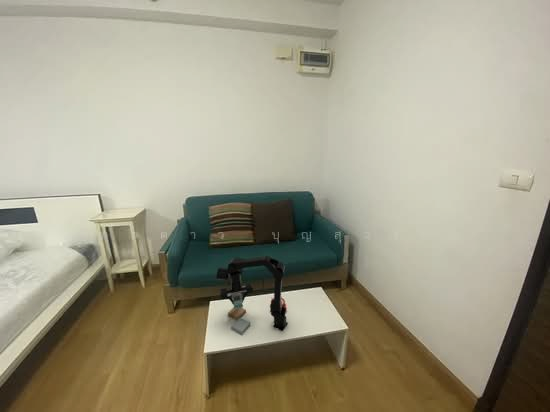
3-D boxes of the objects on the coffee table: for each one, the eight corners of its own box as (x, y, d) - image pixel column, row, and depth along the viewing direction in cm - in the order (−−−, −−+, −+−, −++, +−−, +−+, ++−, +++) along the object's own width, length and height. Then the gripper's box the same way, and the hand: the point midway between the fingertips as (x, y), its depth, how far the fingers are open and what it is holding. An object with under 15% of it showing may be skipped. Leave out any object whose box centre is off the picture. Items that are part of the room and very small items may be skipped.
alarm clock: (283, 294, 155) (288, 305, 140) (284, 303, 155) (288, 315, 140) (268, 296, 153) (271, 307, 138) (269, 305, 153) (272, 317, 139)
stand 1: (246, 312, 144) (245, 309, 143) (237, 321, 137) (237, 317, 137) (236, 308, 148) (236, 305, 147) (227, 316, 141) (227, 312, 141)
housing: (241, 299, 138) (240, 292, 137) (243, 307, 131) (242, 299, 130) (232, 301, 137) (232, 294, 135) (234, 309, 130) (233, 301, 129)
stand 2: (250, 325, 133) (250, 322, 133) (242, 335, 127) (241, 331, 126) (240, 320, 138) (239, 317, 137) (231, 329, 131) (230, 326, 130)
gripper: (249, 269, 140) (250, 291, 144) (218, 275, 135) (220, 298, 139) (252, 279, 129) (254, 303, 133) (219, 286, 124) (222, 310, 128)
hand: (237, 303), depth 134 cm, fingers closed on housing, 5 cm apart
